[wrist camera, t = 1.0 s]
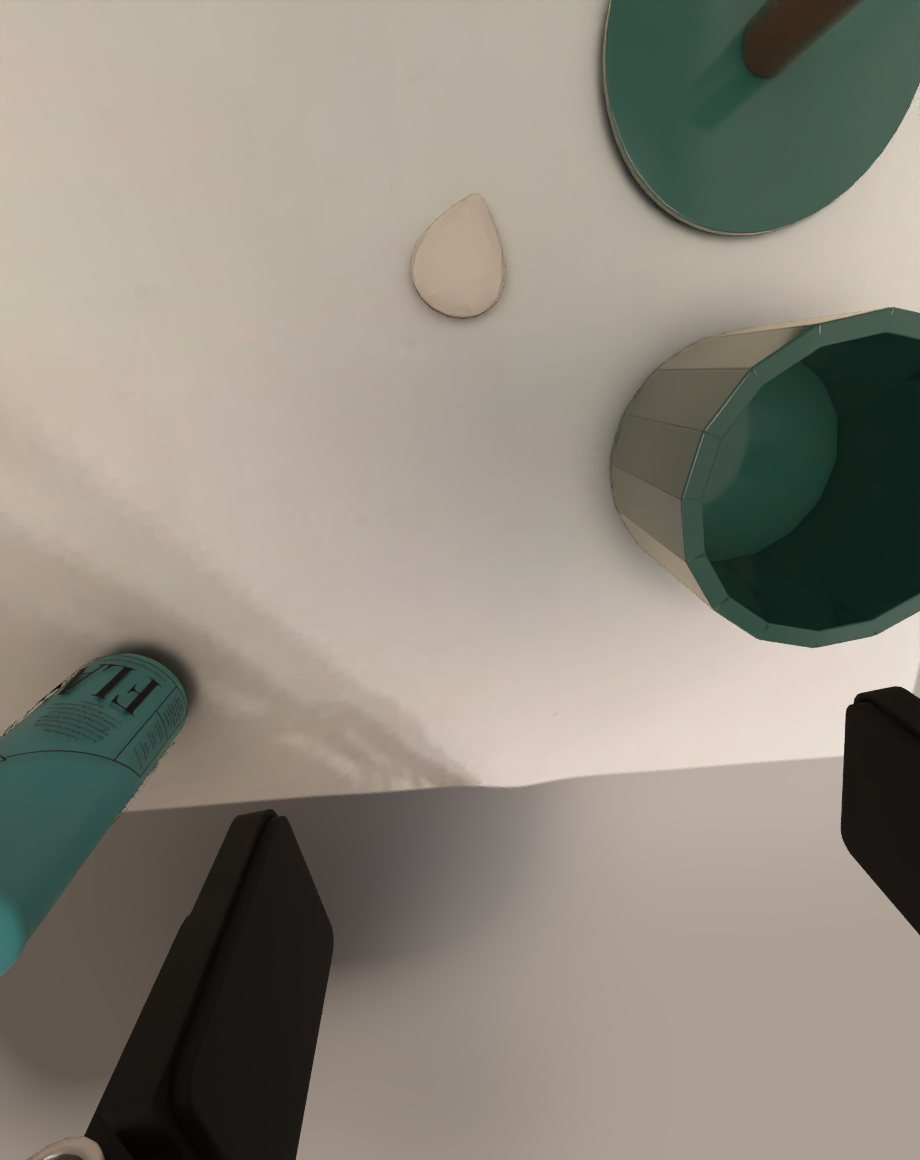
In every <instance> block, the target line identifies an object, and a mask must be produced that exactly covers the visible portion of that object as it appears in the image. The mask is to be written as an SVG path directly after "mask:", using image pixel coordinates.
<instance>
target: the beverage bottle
mask: <svg viewBox="0 0 920 1160" xmlns="http://www.w3.org/2000/svg"><path fill="white" fill-rule="evenodd" d="M100 658H101V659H98V658H97V659H98V660H96V661H94V662H92V663H90V664H89V665H88V664H86V665H87V666H86V665H85V666H86V667H85V668H83V669H80V668H79V669H80V671H79V670H78V671H79V672H78V673H77V674H76V675H75V676H74V677H73V678H72V677H71V678H72V679H71V680H69V681H68V680H67V681H68V682H67V683H66V684H65V685H64V686H62V687H61V685H62V684H63V683H64V681H65V680H64V681H63V683H61V684H60V685H59V686H57V687H56V688H55V689H54V690H56V689H58V688H59V690H58V691H56V692H55V693H54V694H53V695H52V696H50V697H49V698H47V699H46V700H45V699H44V698H45V697H46V696H47V695H46V696H45V697H44V698H43V699H42V700H40V701H39V702H41V701H43V700H45V701H44V702H43V703H42V704H41V705H40V706H39V707H37V708H36V709H35V710H34V711H33V712H32V713H30V714H29V715H28V716H27V717H26V718H24V719H23V720H22V721H21V722H20V723H19V724H17V723H16V724H17V725H15V727H14V728H13V729H9V732H8V733H7V734H6V735H5V733H6V731H5V732H4V734H3V737H1V736H0V737H1V739H0V976H2V975H3V974H4V973H5V972H7V971H8V970H9V969H10V968H11V966H13V965H14V963H15V961H16V960H17V959H18V957H19V956H20V954H21V953H22V951H23V949H24V946H25V944H26V943H27V942H28V940H29V939H30V937H31V936H32V934H33V933H34V932H35V930H36V929H37V927H38V926H39V925H40V923H41V922H42V921H43V919H44V918H45V916H46V915H47V914H48V912H49V911H50V909H51V908H52V907H53V905H54V904H55V902H56V901H57V900H58V898H59V897H60V895H61V894H62V893H63V891H64V890H65V888H66V887H67V886H68V884H69V883H70V881H71V880H72V879H73V877H74V876H75V874H76V873H77V872H78V870H79V869H80V867H81V866H82V865H83V863H84V862H85V860H86V859H87V858H88V856H89V855H90V854H91V852H92V851H93V849H94V848H95V847H96V845H97V844H98V842H99V841H100V840H101V838H102V837H103V835H104V834H105V833H106V831H107V830H108V828H109V827H110V826H111V824H112V823H113V821H114V820H115V819H116V817H117V816H118V814H119V813H120V812H121V811H122V810H123V808H124V807H125V806H126V804H127V803H128V802H129V801H130V799H131V798H132V797H134V796H135V795H134V794H135V793H136V792H137V791H138V788H139V787H140V786H141V785H142V784H143V782H144V780H145V779H146V777H147V776H148V775H150V774H149V773H150V772H151V770H152V769H153V768H154V769H155V767H154V766H155V765H157V764H158V763H157V762H158V761H159V759H160V758H162V757H163V756H162V755H163V754H164V753H165V752H166V750H167V748H168V747H170V744H171V743H172V742H173V740H174V739H175V737H176V736H177V735H178V733H179V732H180V730H181V729H182V727H183V724H184V722H185V718H186V714H187V698H186V694H185V691H184V689H183V687H182V685H181V683H180V682H179V680H178V679H177V678H176V676H175V675H174V674H173V673H172V672H171V671H170V670H169V669H167V668H166V667H165V666H164V665H162V664H160V663H159V662H157V661H155V660H153V659H151V658H148V657H145V656H142V655H137V654H129V653H122V654H114V655H110V656H104V657H103V658H102V657H100ZM93 660H95V659H93ZM91 661H92V660H91ZM89 662H90V661H89ZM87 663H88V662H87ZM83 667H84V666H83ZM81 668H82V667H81ZM76 672H77V670H76ZM72 675H74V673H73V674H72ZM69 678H70V677H68V679H69ZM60 687H61V688H60ZM54 690H52V691H51V692H53V691H54ZM51 692H50V693H51ZM50 693H49V694H50ZM39 702H38V703H39ZM36 705H37V704H36ZM36 705H35V706H36ZM35 706H34V707H35ZM34 707H33V708H34ZM33 708H32V709H33ZM32 709H31V710H32ZM28 712H29V711H28ZM28 712H27V713H28ZM22 716H23V715H22ZM25 716H26V715H25ZM25 716H24V717H25ZM18 721H19V720H18ZM15 722H16V721H15ZM15 722H14V723H15ZM13 725H14V724H13ZM13 725H12V726H13ZM12 726H11V727H10V726H9V727H10V728H12ZM9 727H8V728H9ZM7 730H8V729H7ZM173 744H174V743H173ZM172 746H173V745H172ZM167 753H168V752H167ZM167 753H166V754H167ZM154 769H153V770H154ZM153 770H152V771H153ZM155 770H156V769H155ZM155 770H154V771H155ZM150 777H151V776H150ZM145 784H146V783H145ZM140 791H141V790H140ZM133 795H134V796H133ZM135 798H136V797H135ZM130 805H131V804H130ZM125 808H126V807H125ZM127 809H128V808H127ZM127 809H126V810H127Z"/></svg>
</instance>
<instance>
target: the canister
mask: <svg viewBox="0 0 920 1160" xmlns="http://www.w3.org/2000/svg"><path fill="white" fill-rule="evenodd" d="M611 486H612V491H613V497H614V501H615V504H616V508H617V511H618V513H619V515H620V517H621V519H622V521H623V523H624V525H625V526H626V528H627V529H628V531H629V532H630V533H631V535H632V536H633V537H634V539H635V541H636V542H637V544H638V545H639V546H640V547H641V548H642V549H643V550H644V551H645V552H646V553H648V554H649V555H650V556H651V557H652V558H653V559H655V560H656V561H657V562H658V563H659V564H660V565H662V566H663V567H664V568H665V569H666V570H667V571H668V572H670V573H671V574H672V575H673V576H674V577H675V578H677V579H678V580H679V581H680V582H681V583H682V584H684V585H685V586H686V587H687V588H688V589H689V590H691V591H692V592H693V593H694V594H695V595H696V596H698V597H699V598H700V599H701V600H702V601H703V602H704V603H706V604H707V605H708V606H709V607H710V608H711V609H713V610H714V611H715V612H717V613H718V614H720V615H721V616H723V617H724V618H726V619H727V620H729V621H730V622H732V623H733V624H735V625H737V626H738V627H740V628H741V629H743V630H744V631H746V632H747V633H749V634H750V635H752V636H753V637H755V638H756V639H759V640H765V641H771V642H778V643H784V644H790V645H797V646H803V647H809V648H814V647H815V648H817V647H822V646H827V645H832V644H837V643H842V642H847V641H852V640H857V639H862V638H867V637H871V636H874V635H877V634H879V633H881V632H883V631H885V630H886V629H888V628H890V627H892V626H894V625H895V624H897V623H899V622H901V621H903V620H904V619H906V618H908V617H910V616H912V615H913V614H915V613H917V612H919V611H920V313H918V312H913V311H909V310H904V309H900V308H895V307H887V308H880V309H874V310H867V311H860V312H853V313H846V314H839V315H832V316H826V317H819V318H812V319H805V320H798V321H791V322H784V323H778V324H771V325H764V326H757V327H751V328H746V329H742V330H737V331H733V332H728V333H722V334H719V335H715V336H711V337H707V338H703V339H701V340H699V341H698V342H696V343H694V344H692V345H690V346H688V347H687V348H685V349H683V350H682V351H680V352H678V353H677V354H675V355H674V356H672V357H671V358H670V359H668V360H667V361H666V362H665V363H663V364H662V365H661V366H660V367H659V368H658V369H657V370H656V371H655V372H654V373H653V374H652V375H651V376H650V377H649V378H648V379H647V380H646V381H645V382H644V384H643V385H642V386H641V387H640V389H639V390H638V391H637V393H636V394H635V396H634V397H633V399H632V401H631V402H630V404H629V405H628V407H627V409H626V411H625V413H624V416H623V418H622V420H621V422H620V425H619V428H618V431H617V434H616V437H615V440H614V445H613V450H612V457H611Z"/></svg>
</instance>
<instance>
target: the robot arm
mask: <svg viewBox="0 0 920 1160" xmlns="http://www.w3.org/2000/svg"><path fill="white" fill-rule="evenodd" d="M841 813H842V814H841V835H842V838H843V841H844V843H845V845H846V847H847V849H848V851H849V852H850V854H851V855H852V856H853V857H854V858H855V860H856V861H857V862H858V863H859V864H860V865H861V867H862V868H863V869H864V870H865V871H866V873H867V874H868V875H869V876H870V877H871V878H872V880H873V881H874V882H875V883H876V884H877V886H878V887H879V888H880V889H881V890H882V891H883V893H885V895H886V896H887V897H888V898H889V900H890V901H891V902H892V903H893V904H894V905H895V906H896V908H897V909H898V910H899V911H900V912H901V914H902V915H903V916H904V917H905V918H906V919H907V921H908V922H909V923H910V924H911V925H912V926H913V928H914V929H915V930H916V931H917V932H918V934H919V935H920V698H918V697H916V696H915V695H914V694H912V693H911V692H909V691H908V690H906V689H904V688H902V687H896V686H894V687H889V688H884V689H879V690H874V691H869V692H864V693H860V694H858V695H857V696H856V697H855V699H854V704H852V705H849V706H848V708H847V710H846V721H845V744H844V768H843V791H842V812H841ZM333 942H334V940H333V931H332V926H331V924H330V921H329V919H328V917H327V914H326V911H325V909H324V906H323V904H322V902H321V899H320V897H319V894H318V892H317V889H316V887H315V884H314V882H313V879H312V877H311V875H310V872H309V870H308V867H307V865H306V862H305V860H304V858H303V855H302V853H301V850H300V848H299V845H298V843H297V840H296V838H295V836H294V833H293V831H292V828H291V826H290V823H289V821H288V819H287V818H286V817H285V816H280V817H278V815H277V814H276V812H275V811H274V810H273V809H272V810H271V809H268V810H264V811H258V812H254V813H248V814H243V815H238V816H237V817H236V818H235V819H234V820H233V822H232V824H231V826H230V828H229V830H228V832H227V835H226V837H225V839H224V842H223V843H222V846H221V848H220V850H219V853H218V855H217V857H216V859H215V861H214V863H213V866H212V868H211V870H210V872H209V874H208V877H207V879H206V881H205V883H204V886H203V888H202V890H201V892H200V894H199V897H198V899H197V901H196V903H195V905H194V908H193V910H192V912H191V914H190V915H189V916H187V917H186V919H185V920H184V922H183V924H182V925H181V927H180V929H179V931H178V933H177V936H176V938H175V940H174V942H173V944H172V946H171V949H170V951H169V953H168V955H167V957H166V960H165V962H164V964H163V966H162V968H161V970H160V973H159V975H158V977H157V979H156V981H155V983H154V985H153V988H152V990H151V992H150V994H149V997H148V998H147V1001H146V1003H145V1005H144V1007H143V1009H142V1011H141V1014H140V1016H139V1018H138V1020H137V1023H136V1025H135V1027H134V1029H133V1031H132V1033H131V1035H130V1038H129V1040H128V1042H127V1044H126V1046H125V1048H124V1051H123V1053H122V1055H121V1057H120V1060H119V1061H118V1064H117V1066H116V1068H115V1070H114V1072H113V1074H112V1077H111V1079H110V1081H109V1083H108V1085H107V1088H106V1090H105V1092H104V1094H103V1096H102V1098H101V1101H100V1103H99V1105H98V1107H97V1109H96V1111H95V1114H94V1116H93V1118H92V1120H91V1122H90V1125H89V1127H88V1129H87V1131H86V1133H85V1135H84V1136H80V1137H67V1138H64V1139H62V1140H59V1141H57V1142H55V1143H52V1144H50V1145H48V1146H45V1147H44V1148H42V1149H41V1150H40V1151H38V1152H37V1153H35V1154H34V1155H33V1156H31V1157H30V1158H28V1159H27V1160H296V1155H297V1149H298V1144H299V1138H300V1132H301V1127H302V1121H303V1115H304V1110H305V1105H306V1099H307V1093H308V1088H309V1082H310V1077H311V1071H312V1066H313V1060H314V1054H315V1049H316V1043H317V1037H318V1032H319V1026H320V1021H321V1015H322V1010H323V1004H324V999H325V993H326V987H327V982H328V976H329V971H330V965H331V960H332V954H333Z"/></svg>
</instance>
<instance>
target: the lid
mask: <svg viewBox="0 0 920 1160" xmlns="http://www.w3.org/2000/svg"><path fill="white" fill-rule="evenodd" d="M603 83H604V93H605V99H606V106H607V112H608V116H609V120H610V123H611V127H612V131H613V134H614V137H615V140H616V142H617V145H618V147H619V150H620V152H621V155H622V157H623V159H624V161H625V162H626V164H627V166H628V168H629V169H630V171H631V173H632V175H633V176H634V178H635V179H636V180H637V182H638V183H639V184H640V186H641V187H642V188H643V190H644V191H645V192H646V193H647V194H648V195H649V196H650V197H651V198H652V199H653V200H654V201H655V202H656V203H657V204H658V205H659V206H660V207H661V208H662V209H664V210H665V211H667V212H668V213H669V214H671V215H672V216H673V217H675V218H676V219H678V220H680V221H682V222H684V223H686V224H688V225H690V226H692V227H695V228H698V229H701V230H704V231H707V232H711V233H717V234H724V235H753V234H759V233H765V232H770V231H773V230H776V229H780V228H783V227H786V226H789V225H791V224H793V223H796V222H798V221H800V220H802V219H804V218H806V217H809V216H811V215H813V214H814V213H816V212H817V211H819V210H821V209H822V208H824V207H826V206H827V205H829V204H830V203H832V202H833V201H834V200H835V199H837V198H838V197H839V196H840V195H842V194H843V193H844V192H846V191H847V190H848V189H849V188H850V187H851V186H852V185H853V184H854V183H855V182H856V181H857V180H858V179H859V178H860V177H861V176H862V175H863V174H864V173H865V172H866V171H867V170H868V169H869V168H870V166H871V165H872V164H873V163H874V162H875V160H876V159H877V158H878V157H879V155H880V154H881V153H882V152H883V150H884V149H885V147H886V146H887V144H888V143H889V141H890V140H891V138H892V137H893V135H894V134H895V132H896V131H897V129H898V127H899V125H900V123H901V122H902V120H903V118H904V116H905V114H906V112H907V111H908V109H909V107H910V104H911V102H912V100H913V97H914V95H915V93H916V90H917V88H918V86H919V83H920V0H610V3H609V7H608V13H607V19H606V25H605V32H604V45H603Z"/></svg>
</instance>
